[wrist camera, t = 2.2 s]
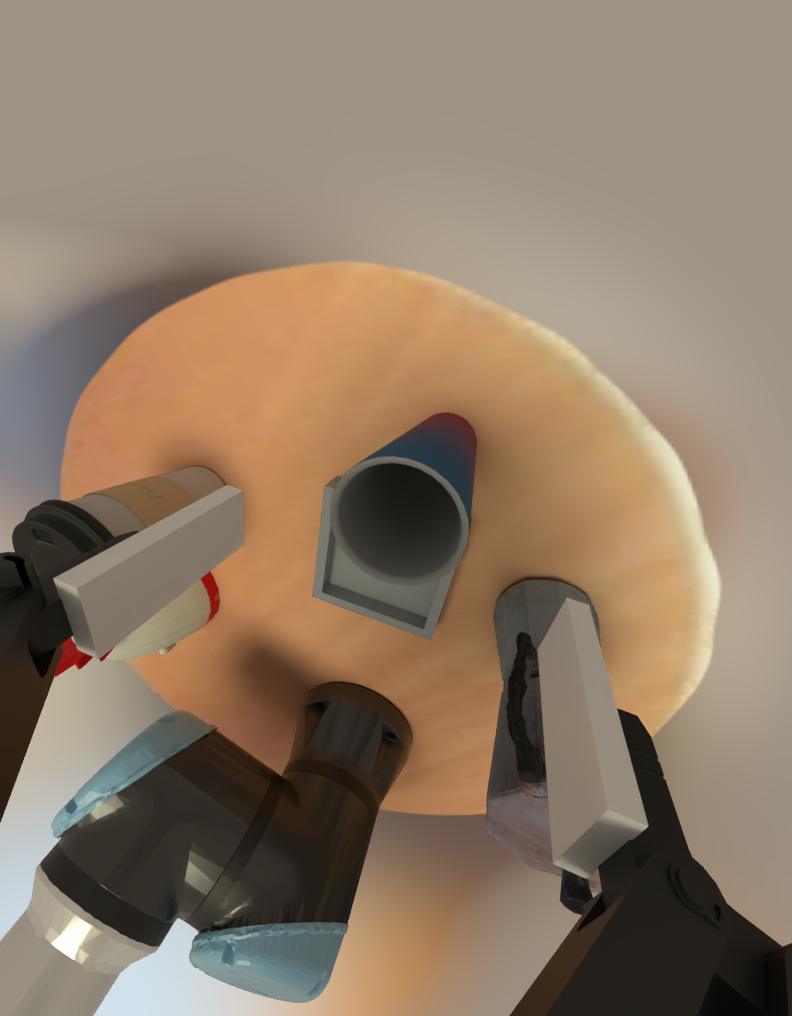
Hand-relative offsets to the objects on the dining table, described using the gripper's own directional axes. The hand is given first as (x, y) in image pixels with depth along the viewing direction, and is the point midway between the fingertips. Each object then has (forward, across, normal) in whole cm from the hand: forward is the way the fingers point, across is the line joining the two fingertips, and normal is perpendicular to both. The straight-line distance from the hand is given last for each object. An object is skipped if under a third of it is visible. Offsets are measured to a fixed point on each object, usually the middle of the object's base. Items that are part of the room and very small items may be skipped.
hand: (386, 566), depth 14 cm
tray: (+18, +3, +12) cm, 22 cm away
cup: (+18, +1, 0) cm, 18 cm away
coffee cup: (+18, +24, +12) cm, 33 cm away
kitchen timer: (+18, +30, +28) cm, 45 cm away
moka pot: (+18, -12, +13) cm, 26 cm away
